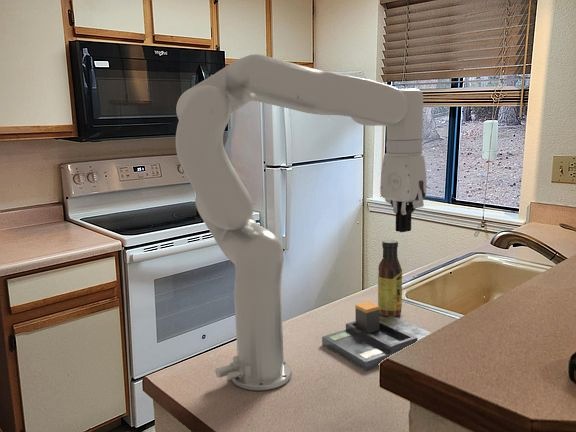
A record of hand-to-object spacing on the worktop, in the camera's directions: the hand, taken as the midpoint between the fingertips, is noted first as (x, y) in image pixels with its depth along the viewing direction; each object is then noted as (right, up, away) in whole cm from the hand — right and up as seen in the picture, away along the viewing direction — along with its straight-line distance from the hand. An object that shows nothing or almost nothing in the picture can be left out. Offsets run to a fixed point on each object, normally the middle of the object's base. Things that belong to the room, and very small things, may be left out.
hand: (403, 230), depth 117 cm
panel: (-4, -27, +6) cm, 28 cm away
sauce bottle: (+2, -23, +24) cm, 34 cm away
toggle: (-7, -24, +9) cm, 26 cm away
